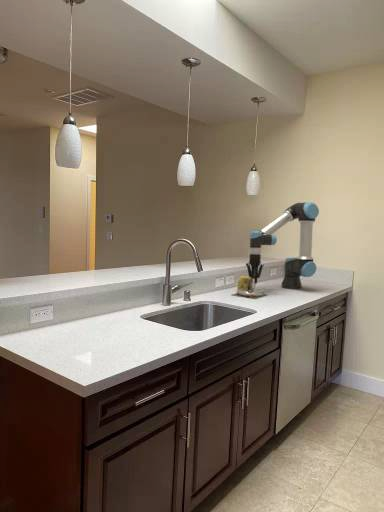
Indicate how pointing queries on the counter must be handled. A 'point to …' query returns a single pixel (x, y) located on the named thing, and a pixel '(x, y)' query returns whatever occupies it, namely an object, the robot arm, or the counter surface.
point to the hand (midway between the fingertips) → (254, 287)
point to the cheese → (244, 282)
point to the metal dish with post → (250, 291)
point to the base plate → (248, 296)
